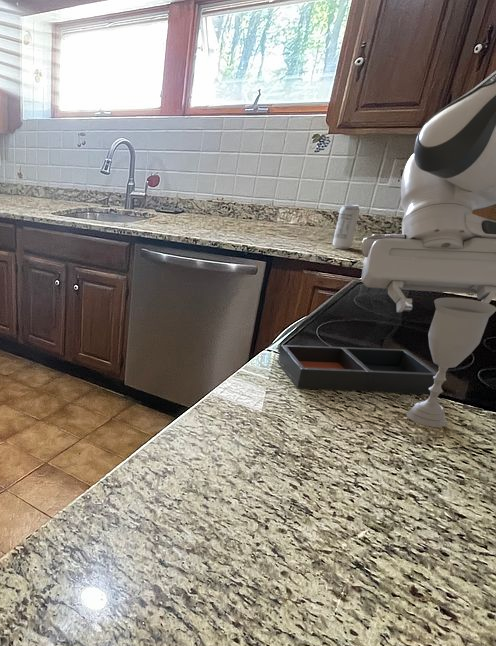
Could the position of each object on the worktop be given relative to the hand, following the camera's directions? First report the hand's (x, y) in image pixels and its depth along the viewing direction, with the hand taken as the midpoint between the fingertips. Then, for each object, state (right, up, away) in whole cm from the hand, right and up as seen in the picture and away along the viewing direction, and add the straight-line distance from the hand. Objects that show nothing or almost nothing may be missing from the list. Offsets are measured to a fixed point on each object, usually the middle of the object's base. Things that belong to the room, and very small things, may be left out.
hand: (441, 313), depth 78 cm
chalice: (-2, -16, +1) cm, 16 cm away
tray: (-4, -10, +14) cm, 18 cm away
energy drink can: (+55, +34, +113) cm, 131 cm away
